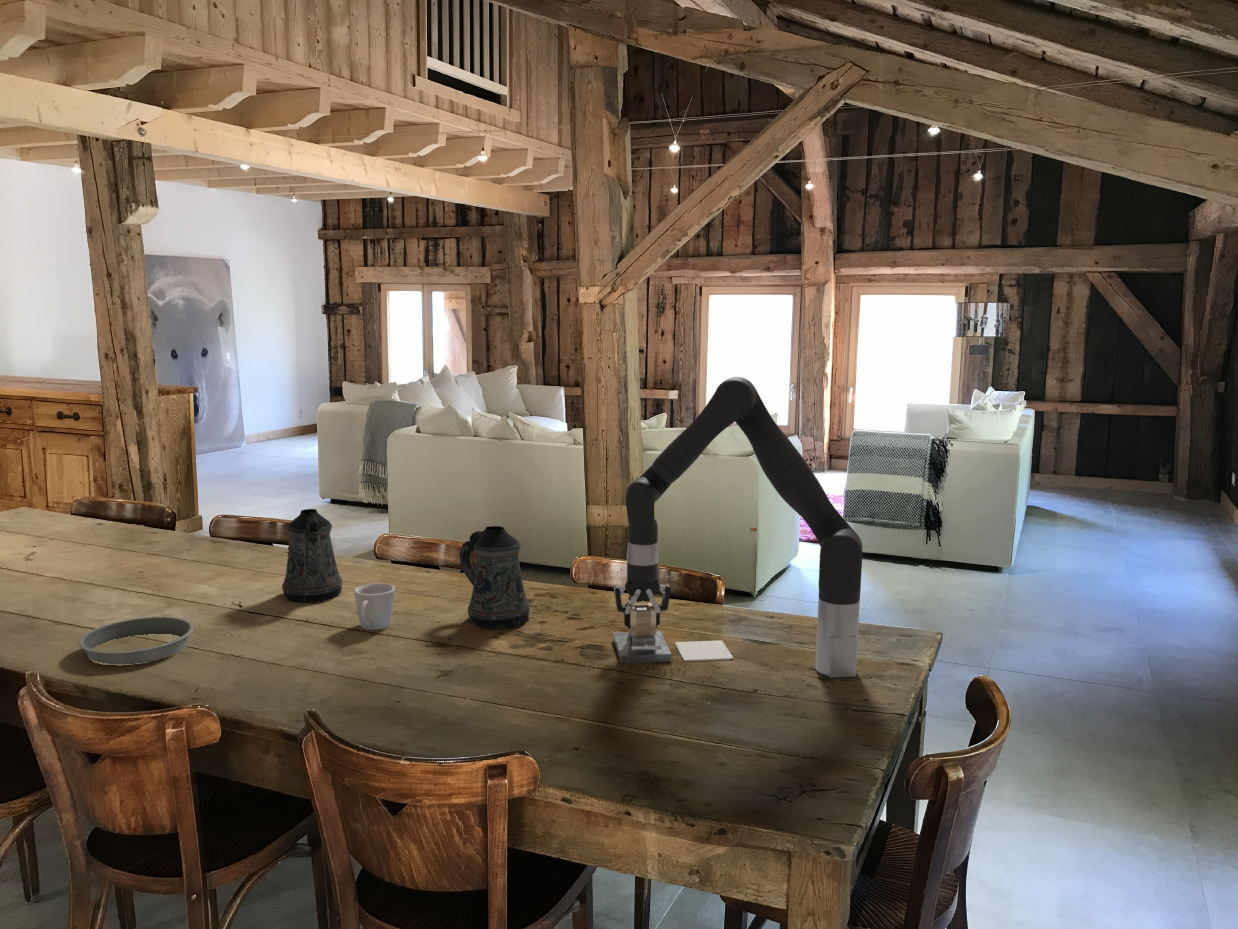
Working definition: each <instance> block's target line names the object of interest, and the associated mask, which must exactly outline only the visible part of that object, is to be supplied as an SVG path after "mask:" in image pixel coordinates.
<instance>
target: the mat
mask: <svg viewBox="0 0 1238 929" xmlns="http://www.w3.org/2000/svg"><path fill="white" fill-rule="evenodd" d="M674 644H675V648H677V651H678V652H679V655H680V657H681V658H683V659H682V661H683V660H684V661H685V662H706V661H709V660H710V661H731V660H730V659H733V660H734V657H733V655H732V654H731V652H730V651H729V649H728V647H727V645H726V644H725V643H724V641H723V639H722V640H702V641H701V640H699V641H697V640H695V641H675V642H674ZM684 661H683V662H684Z"/></svg>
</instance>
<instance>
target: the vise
mask: <svg viewBox="0 0 1238 929" xmlns="http://www.w3.org/2000/svg"><path fill="white" fill-rule="evenodd" d="M636 610H647V609H646V608H636ZM627 630H628V631H619V632H612V633H613V634H612V638H613V639H612V640H614V641H613V643H615V644H614V646H616V647H615V649H617V650H616V653H617V652H618V653H617V656H618V659H619V658H620V659H619V662H620V664H621V663H633V664H645V663H644V662H649V663H648V664H652V663H651V662H659V663H672V656H673V655H672V652H671V650H670V648H669V646H668V644H667V642H666V640H665V638H664V636H663V633H662V631H661V630H656V635H640V636H631V634H630V632H629V629H627Z"/></svg>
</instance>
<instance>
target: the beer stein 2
mask: <svg viewBox="0 0 1238 929" xmlns="http://www.w3.org/2000/svg"><path fill="white" fill-rule="evenodd" d="M521 546H522V545H521V542H520V541H519V540H517V538H516V537H514V536H512V535H511V534H509V533H508V532H507V530H506V529H505V528H504V526H497V525H492V526H491V525H489V526H486V527H485V528H484V530H480V531H478V530H477V531H474V532H472V533H471V534H470V536H469V540H467V541H465V542H464V543H463V544H462V545H461V548H460V551H459V563H460V566H461V569H462V571H463V573H464V575H465V577H466V578H467V580H468V582H470V584H471V585H472V593H471V597H470V602H469V604H468V606H467V613H468V616H469V621H470V623H471V625H472V626H474V627H475V628H476V627H477V628H480V629H487V630H505V629H507V630H508V629H513V628H516V627H521V626H523V625H524V624H526V623H528V622H529V621H530V620H529V619H530V616H529V615H530V610H531V606H530V603H529V601H528V598H527V595H526V592H525V587H524V583H523V579H522V572H521V566H520V558H519V553H520V550H521ZM472 552H474V553H475V555H476V560H475V561H476V562H475V567H474V565H473V564H472V561H471V553H472Z"/></svg>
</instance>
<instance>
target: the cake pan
mask: <svg viewBox="0 0 1238 929" xmlns="http://www.w3.org/2000/svg"><path fill="white" fill-rule="evenodd" d="M193 631H194V625H193V623H191V622H190V621H188V620H186V619H182V618H179V617H173V616H172V617H171V616H149V617H148V616H147V617H138V618H131V619H124V620H121V621H115V622H111V623H108V624H105V625H101V626H99V627H97V628H94V629H92V630H90V631H88V632H86V633H85V634H83V635H82V637H81V638H80V639H79V640H78V646H79V647H80V648H81V649H82V650H84V651H85V652H86V655H87V657H88V659H89V658H91V659H92V660H94V661H97V662H102V663H108V664H135V663H143V662H149V661H155V660H159V659H162V658H165V657H168V656H171V655H173V654H175V653H177V652H179V651H181V650H182V649H183V650H184V648H185V649H186V648H187V646H186V645H188V642H189V635H191V634H192V632H193ZM144 634H145V635H148V634H172V635H177V636H180V638H178V639H176V640H173V641H171V642H168V643H165V644H161V645H158V646H154V647H149V648H144V649H138V650H131V651H113V652H112V651H98V650H93V649H92V648H94V647H96V646H97V645H100V644H102V643H105V642H107V641H110V640H113V639H119V638H123V637H128V636H134V635H144ZM183 650H182V651H183ZM182 651H181V652H182ZM179 653H180V652H179ZM177 654H178V653H177ZM175 655H176V654H175ZM173 656H174V655H173ZM171 657H172V656H171ZM168 658H169V657H168ZM165 659H166V658H165ZM162 660H163V659H162ZM159 661H160V660H159ZM155 662H156V661H155Z"/></svg>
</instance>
